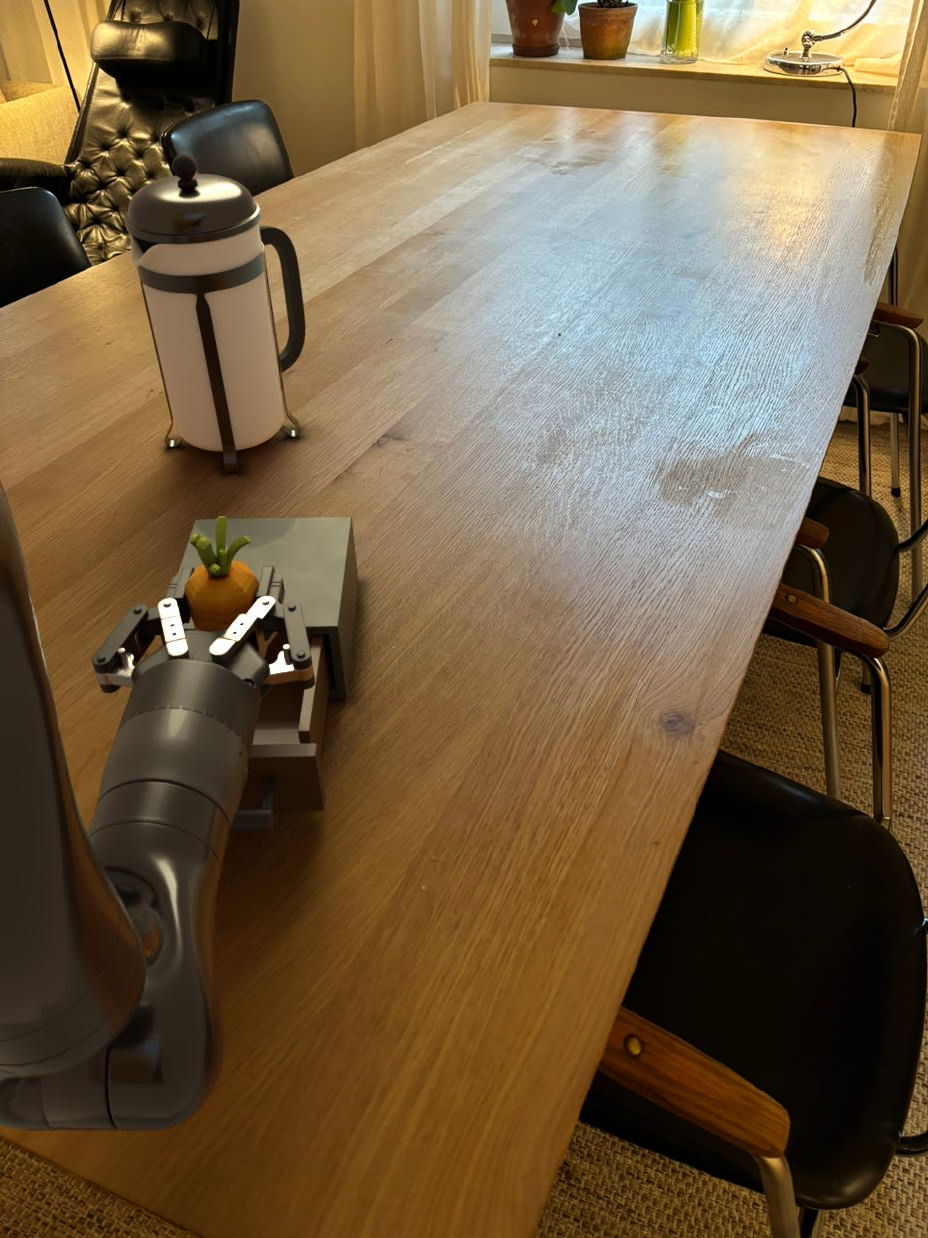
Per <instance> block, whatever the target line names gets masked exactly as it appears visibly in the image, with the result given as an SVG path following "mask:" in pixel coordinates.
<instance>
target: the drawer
mask: <svg viewBox="0 0 928 1238" xmlns="http://www.w3.org/2000/svg"><path fill="white" fill-rule="evenodd" d="M307 637H308V641H309V646H310V651H311V657H312V663H313V670H314V676H315V685H314V686H313V687H312V688H310V689H306V690H303V689H299V688H298V687H297V685H296V681H292V682H287V683H281V684H276V685H272V688H271V690H270V692H269V693H268V694H267V695H266V696H265V697H264V698H263V699H262V701H261V703H260V708H259V714H258V719H257V724H256V729H255V734H254V738H253V743H252V748H251V753H250V758H249V763H248V778H247V783H246V785H245V787H244V789H243V793H242V797H241V801H240V804H239V808H238V811H237V813H236V816H235V818H234V821H233V823H232V826H231V829H230V832H229V834H245V833H246V834H250V833H251V834H252V833H253V834H254V833H255V834H256V833H258V834H259V833H273V831H274V829H275V813H288V812H289V813H293V812H324V811H325V807H326V799H327V797H326V791H325V784H324V778H323V772H322V771H323V770H322V766H321V765H322V764H321V755H322V747H323V740H324V731H325V723H326V716H327V708H328V699H329V698H328V693H329V685H330V677H331V675H330V667H329V660H328V653H327V646H326V638H325V634H310V635H307ZM286 644H288V645H289V643H288V637H287V635H276V636H275V637H274V639H273V640H272V641H271V643H270V644H269V645H268V647H267V653H266V656H265V658H264V659H265V660H266V661H267V663H268V664H269V665H270V664H273V663H275V662H276V661H277V659H278V655H279V653H280V652H281V651H283V649H282V647H283V646H284V645H286Z"/></svg>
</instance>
